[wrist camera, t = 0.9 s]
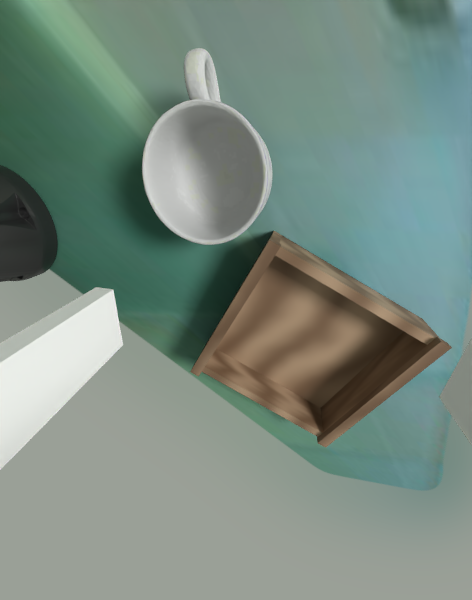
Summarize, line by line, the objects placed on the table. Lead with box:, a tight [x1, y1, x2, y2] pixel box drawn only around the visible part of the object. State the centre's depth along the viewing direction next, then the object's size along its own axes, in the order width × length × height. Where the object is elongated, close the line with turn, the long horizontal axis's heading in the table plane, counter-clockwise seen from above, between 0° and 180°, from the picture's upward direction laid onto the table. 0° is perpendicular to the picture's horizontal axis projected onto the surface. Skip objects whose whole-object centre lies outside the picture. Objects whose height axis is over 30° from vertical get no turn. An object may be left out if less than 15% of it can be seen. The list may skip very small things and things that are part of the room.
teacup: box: [142, 48, 272, 245], centre depth 24 cm, size 14×11×8 cm
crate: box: [191, 231, 452, 447], centre depth 31 cm, size 20×19×6 cm
